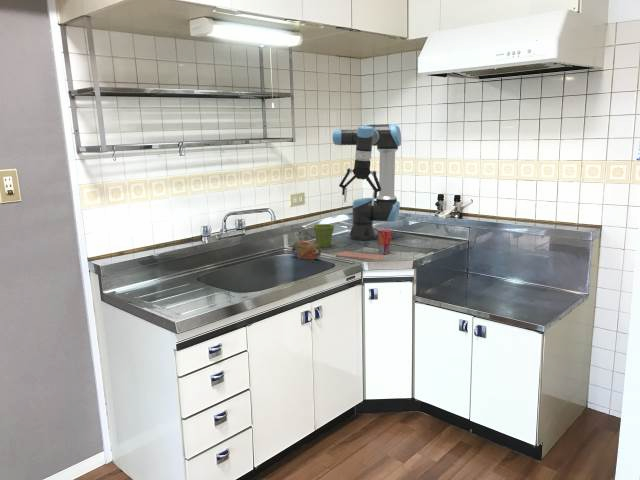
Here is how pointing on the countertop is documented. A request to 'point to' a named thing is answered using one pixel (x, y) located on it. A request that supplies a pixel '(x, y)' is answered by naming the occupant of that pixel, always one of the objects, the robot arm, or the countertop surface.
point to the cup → (384, 239)
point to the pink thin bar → (366, 252)
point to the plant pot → (323, 234)
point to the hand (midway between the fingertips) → (358, 203)
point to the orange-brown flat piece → (306, 250)
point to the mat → (360, 255)
